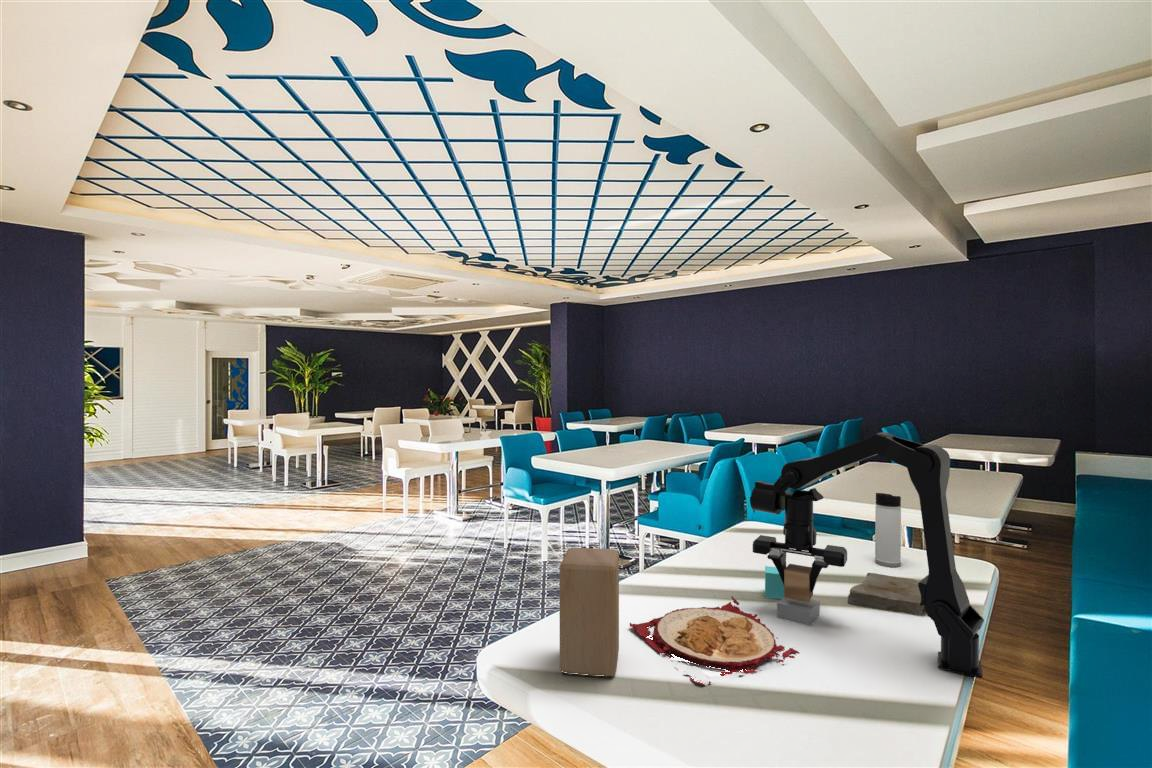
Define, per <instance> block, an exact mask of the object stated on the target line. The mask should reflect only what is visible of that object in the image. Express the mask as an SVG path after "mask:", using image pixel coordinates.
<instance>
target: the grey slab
mask: <svg viewBox="0 0 1152 768" xmlns="http://www.w3.org/2000/svg"><path fill="white" fill-rule="evenodd" d="M820 604H821V602H820V600H818V599H814V598H811V599H810V601H809V602H805V601H800V600H795V599H790V598H785V597H783V598H782V599H779V600H778V601H777V602H776V618H777V619H780V620H785V621H788V622H792V623H796V624H800V625H803V626H806V627H811V626H813V623H815V621H816V620H817V619H818V618H819V617H820V616H821V613H820V611H821V605H820Z"/></svg>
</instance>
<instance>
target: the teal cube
mask: <svg viewBox="0 0 1152 768" xmlns="http://www.w3.org/2000/svg"><path fill="white" fill-rule="evenodd" d="M764 594H765V596H764V597H765V598H766V599H773V600H775V599H776V600H781V599H782V598H783V597H784V584H783V582H782V580H781V577H780V575H779V572H778V570H777V568H776V567H775V566H771V565H770V566H768V565H765V566H764Z"/></svg>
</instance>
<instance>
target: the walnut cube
mask: <svg viewBox="0 0 1152 768" xmlns="http://www.w3.org/2000/svg"><path fill="white" fill-rule="evenodd" d="M811 570H812V566H806V565H799V564H794V563H788V565H786V569H785V570H784V597H785V598H790V599H795V600H800V601H805V602H809V601H810V599H812V597H813V595H814V591H813V592H810V581H811Z"/></svg>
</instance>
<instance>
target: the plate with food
mask: <svg viewBox="0 0 1152 768" xmlns="http://www.w3.org/2000/svg"><path fill="white" fill-rule="evenodd" d="M730 597H731V599H732V602H733V603H734V605H733V604H732V602H731V601H729V602H728V603H726V604H723V605H722V606H721V607H720V606H716V607H705V606H703V607H687V608H686V607H684V608H683V607H682V608H681V609H676V610H672V611H670V612H667V613H665V614H664V615H663V616H660V617H657V618H652V619H651V620H649V621H648V622H642V623H632V622H629V627H631V628H632V629H633V631H636V633H637V634H638V635H639V636H640V637H644V639H645V642H646V643H647V644H648V645H650V647H651V648H653V649H654V650H655V651H658V655H659V654H660V653H667V654H669V655H670V656H669V655H668V658H669V657H670V658H671V657H673V656H672V655H671V654H674V655H675V656H677V657H680V658H683V659H685V660H688V661H690V662H693V663H696V664H699V665H703V666H702V667H704V666H705V668H706V666H707V667H709V666H711V667H715V668H721V669H726V670H728V671H730V672H725V671H724V672H721V671H720V672H721V673H722V674H720V675H721V676H724V675H725V674H728V675H729V674H730V675H732V674H734V673H733V672H736V673H741V671H740V670H742V669H743V672H742V675H740V674H739V675H738V676H739V677H745V675H743V674H744V673H746V675H748V674H753V673H758V671H756V670H757V669H758V667H756V666H758V665H761V664H764V662H765V661H768V660H773V657H776V659H775V660H776V664H779V663H781V662H782V663H781V666H784V665H785V663H784V660H786V658H789V659H795V657H796V656H794V655H790V653H791V654H792V653H794V654H796V655H797V654H800V652H799V651H798V650H796V649H795V648H796V647H789V649H787V650H786V649H785V646H783V645H782V644H780V645H777V643H776V639H777V640H779V638H778V637H777V636H776V639H775V635H774V633H773V632H772V631H771V629H770V628H769V627H767V626H766V624H765V623H762V622H761V618H759V617H758V614H757V613H755V614H754V615H753V614H752V613H750V612H749V613H747V612H744V611H743V610H741V609H740V607H738V606H739V605H740V602H739V601H737V599H736V598H735V597H734V596H733V595H731V596H730ZM653 625H654V626H653ZM649 626H650V628H652V627H653V634H652V633H651V630H650V628H647V627H649ZM651 634H652V635H653V636H652V637H653V640H651V639H649V638H646V637H647V636H649V635H651ZM652 637H650V638H652ZM779 652H782V655H780V654H779ZM667 654H666V655H667ZM660 655H661V654H660ZM780 656H781V657H782V659H777V658H779V657H780ZM673 658H674V657H673ZM688 663H689V662H688ZM696 664H695V665H696ZM699 665H698V666H699ZM711 667H710V668H709V669H712V668H711ZM745 669H746V670H747V671H746V670H745ZM739 671H740V672H739ZM762 671H763V670H762V669H759V672H762ZM724 673H725V674H724ZM725 676H726V675H725ZM689 677H690V680H691V681H692V682H694V679H692V678H691V677H692V676H689ZM700 682H701V681H699V682H697V681H696V682H694V683H695V684H696V683H697V684H698V685H703V683H704V682H703V683H700ZM708 682H709V685H711V684H712V682H711V681H708ZM710 683H711V684H710Z"/></svg>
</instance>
